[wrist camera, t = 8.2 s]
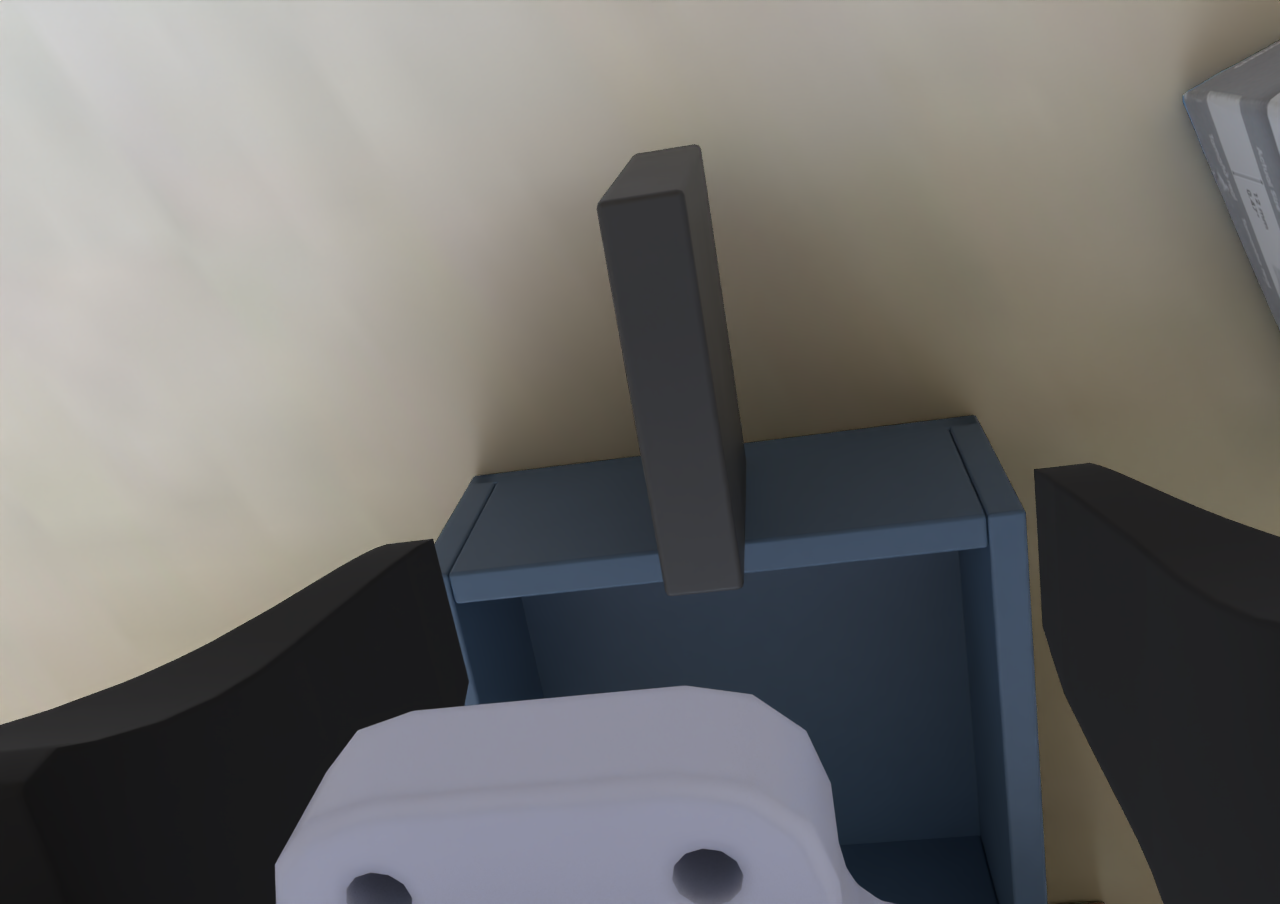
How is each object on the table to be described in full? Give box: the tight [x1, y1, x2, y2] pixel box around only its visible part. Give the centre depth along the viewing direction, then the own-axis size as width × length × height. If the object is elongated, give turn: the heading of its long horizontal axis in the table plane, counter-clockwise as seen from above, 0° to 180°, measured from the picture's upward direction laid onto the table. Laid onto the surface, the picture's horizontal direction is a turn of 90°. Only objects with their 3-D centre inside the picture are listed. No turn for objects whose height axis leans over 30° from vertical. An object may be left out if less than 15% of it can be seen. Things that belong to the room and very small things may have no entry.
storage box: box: [434, 144, 1048, 904], centre depth 21 cm, size 10×16×6 cm, turn 10°
